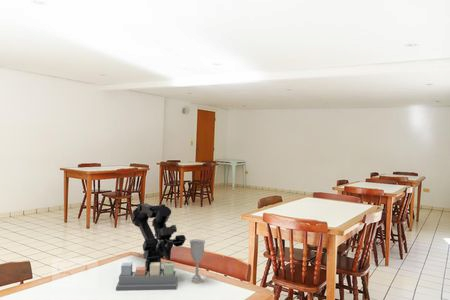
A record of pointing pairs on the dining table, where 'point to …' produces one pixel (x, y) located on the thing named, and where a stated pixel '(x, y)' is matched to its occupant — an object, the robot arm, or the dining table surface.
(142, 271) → the peach rectangular block
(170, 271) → the key sage
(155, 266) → the block
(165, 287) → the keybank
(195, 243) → the chalice
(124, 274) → the key blue
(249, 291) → the dining table surface
